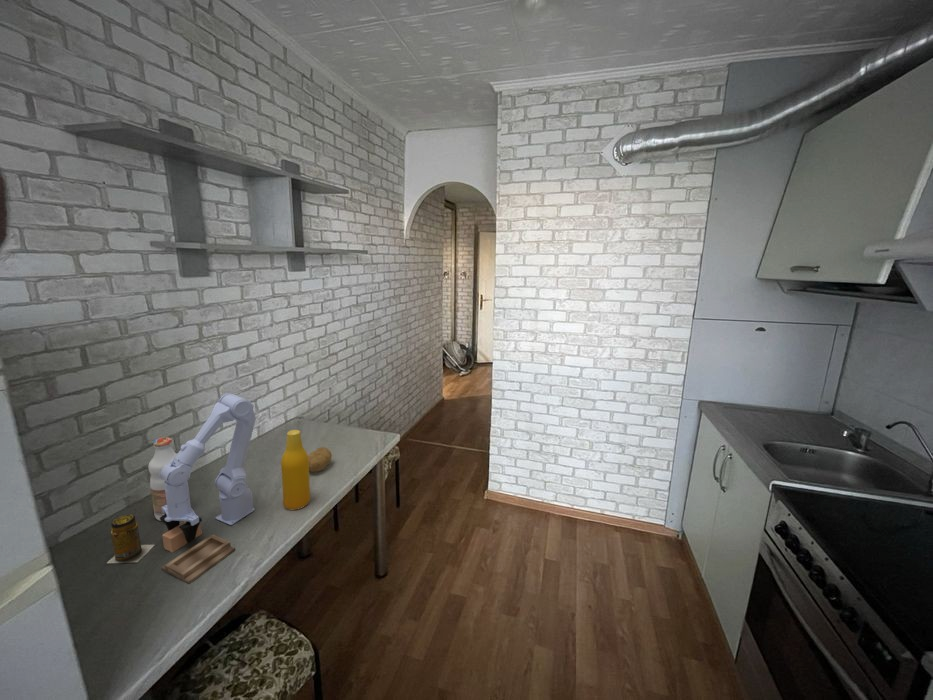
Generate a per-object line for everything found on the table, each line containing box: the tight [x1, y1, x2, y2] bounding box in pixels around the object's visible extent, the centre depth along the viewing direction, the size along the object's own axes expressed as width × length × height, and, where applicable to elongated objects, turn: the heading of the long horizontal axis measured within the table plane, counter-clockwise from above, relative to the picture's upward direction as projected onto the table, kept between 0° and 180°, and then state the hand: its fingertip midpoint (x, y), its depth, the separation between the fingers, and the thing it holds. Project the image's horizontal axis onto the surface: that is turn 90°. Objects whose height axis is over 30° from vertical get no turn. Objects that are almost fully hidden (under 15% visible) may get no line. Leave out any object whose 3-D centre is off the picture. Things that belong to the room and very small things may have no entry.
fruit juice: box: [147, 437, 178, 522], centre depth 130 cm, size 9×9×28 cm
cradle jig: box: [160, 534, 236, 585], centre depth 114 cm, size 14×12×2 cm
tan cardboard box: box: [161, 521, 203, 553], centre depth 120 cm, size 9×4×5 cm, turn 159°
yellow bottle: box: [280, 429, 311, 510], centre depth 139 cm, size 9×9×29 cm
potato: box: [307, 446, 333, 473], centre depth 165 cm, size 10×14×8 cm
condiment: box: [106, 514, 155, 564], centre depth 113 cm, size 7×8×12 cm
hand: (183, 537), depth 121 cm, fingers open, 7 cm apart
